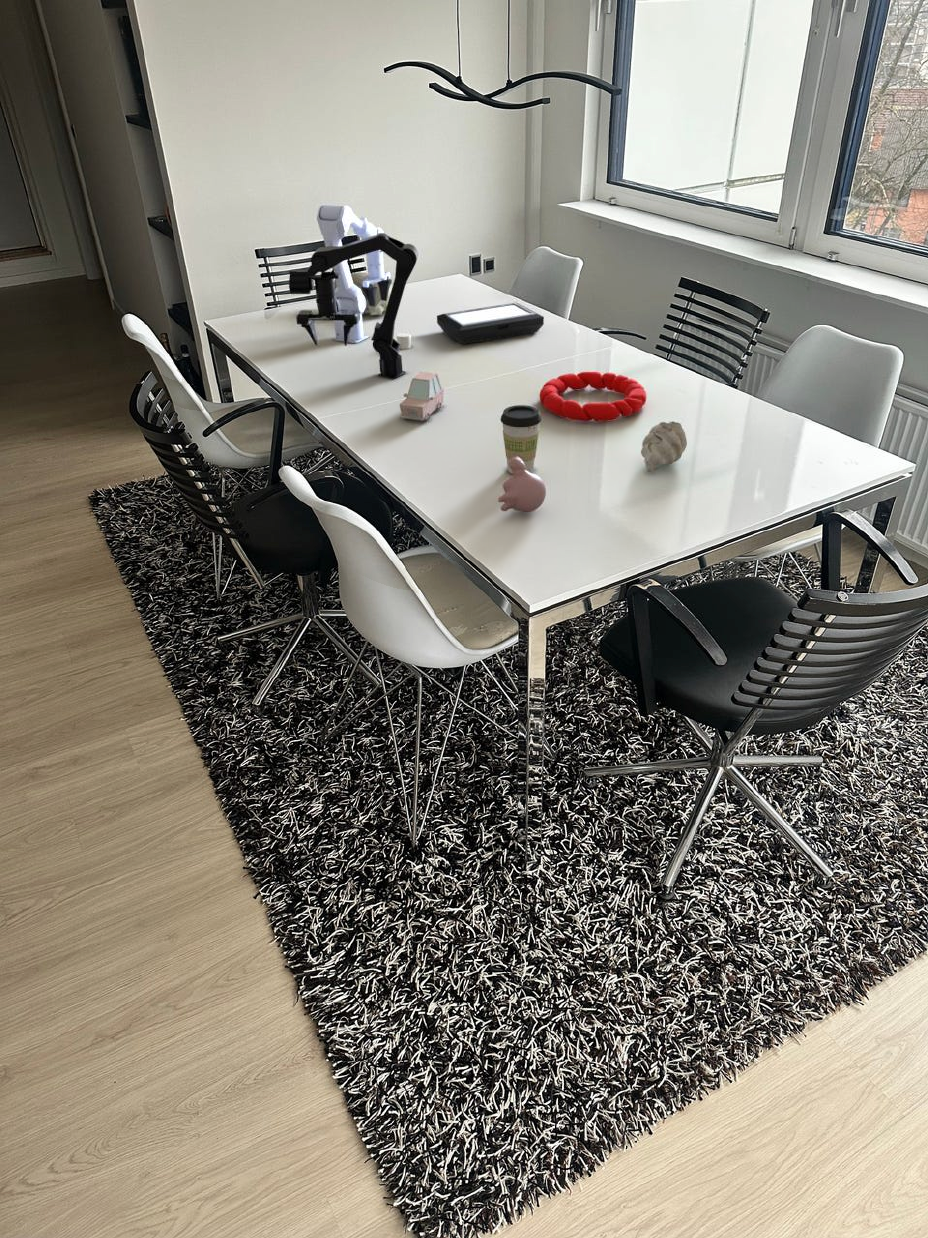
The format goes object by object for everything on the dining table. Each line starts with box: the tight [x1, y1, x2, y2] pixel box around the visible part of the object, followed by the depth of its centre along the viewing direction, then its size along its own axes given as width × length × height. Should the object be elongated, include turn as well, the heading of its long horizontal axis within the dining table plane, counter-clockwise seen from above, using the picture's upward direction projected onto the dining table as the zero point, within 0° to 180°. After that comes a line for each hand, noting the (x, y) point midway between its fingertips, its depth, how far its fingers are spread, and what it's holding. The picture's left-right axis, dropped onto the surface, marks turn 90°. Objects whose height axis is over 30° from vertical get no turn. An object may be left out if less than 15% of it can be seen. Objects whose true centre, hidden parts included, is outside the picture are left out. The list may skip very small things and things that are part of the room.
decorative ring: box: [539, 371, 647, 422], centre depth 253 cm, size 7×30×30 cm
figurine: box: [497, 457, 547, 513], centre depth 199 cm, size 9×11×12 cm
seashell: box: [640, 421, 688, 473], centre depth 218 cm, size 10×15×10 cm
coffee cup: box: [499, 404, 543, 474], centre depth 216 cm, size 10×10×15 cm
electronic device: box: [436, 302, 545, 345], centre depth 312 cm, size 32×6×20 cm
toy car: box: [399, 371, 445, 422], centre depth 250 cm, size 9×15×10 cm, turn 158°
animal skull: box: [334, 271, 393, 316], centre depth 336 cm, size 17×25×20 cm
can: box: [396, 332, 412, 350], centre depth 302 cm, size 5×5×4 cm
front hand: (331, 345), depth 275 cm, fingers open, 9 cm apart
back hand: (378, 303), depth 322 cm, fingers open, 7 cm apart
